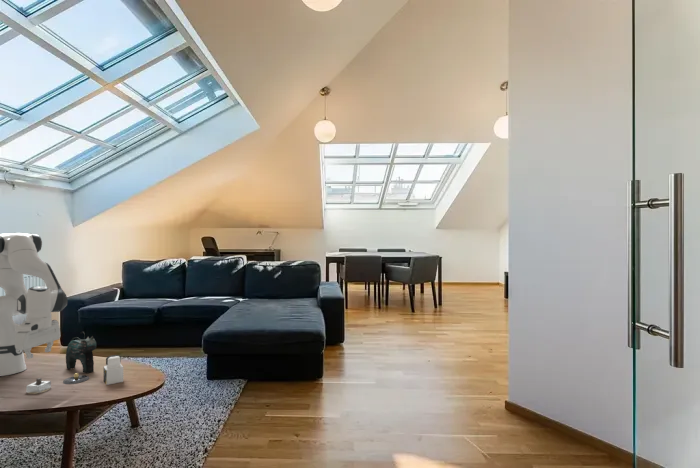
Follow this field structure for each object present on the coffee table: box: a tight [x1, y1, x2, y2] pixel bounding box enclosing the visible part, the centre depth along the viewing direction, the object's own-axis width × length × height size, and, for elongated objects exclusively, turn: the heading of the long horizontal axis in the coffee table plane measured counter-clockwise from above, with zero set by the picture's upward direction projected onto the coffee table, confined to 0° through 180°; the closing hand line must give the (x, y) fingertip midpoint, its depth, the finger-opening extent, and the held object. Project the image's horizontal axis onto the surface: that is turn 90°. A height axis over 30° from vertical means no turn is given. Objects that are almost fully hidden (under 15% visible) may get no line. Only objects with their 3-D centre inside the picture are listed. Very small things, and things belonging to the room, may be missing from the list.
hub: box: [62, 372, 90, 385], centre depth 188 cm, size 10×10×4 cm
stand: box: [27, 377, 51, 395], centre depth 176 cm, size 8×8×6 cm
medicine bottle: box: [103, 354, 124, 386], centre depth 189 cm, size 7×7×12 cm
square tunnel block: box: [25, 380, 52, 394], centre depth 176 cm, size 6×6×3 cm
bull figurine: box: [65, 331, 97, 374], centre depth 205 cm, size 20×6×20 cm, turn 64°
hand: (39, 355), depth 176 cm, fingers open, 8 cm apart
